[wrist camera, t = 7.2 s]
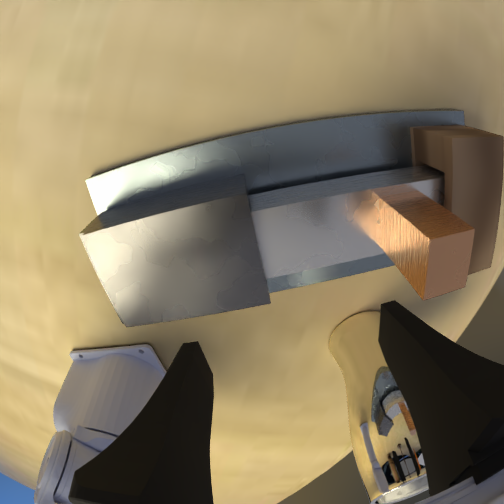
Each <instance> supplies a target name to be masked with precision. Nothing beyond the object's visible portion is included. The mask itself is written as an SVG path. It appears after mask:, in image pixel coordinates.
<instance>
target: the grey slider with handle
mask: <svg viewBox="0 0 504 504" xmlns="http://www.w3.org/2000/svg"><path fill="white" fill-rule="evenodd" d="M444 188H445V173H444V172H442V171H440V170H438V169H436V168H433V167H431V166H429V165H424V166H416V167H409V168H401V169H394V170H387V171H381V172H374V173H367V174H361V175H355V176H349V177H343V178H337V179H331V180H325V181H320V182H314V183H309V184H303V185H298V186H293V187H288V188H282V189H277V190H272V191H267V192H263V193H258V194H253V195H248V198H249V207H250V211H251V216H252V220H253V225H254V229H255V234H256V238H257V242H258V247H259V251H260V256H261V260H262V265H263V269H264V274H265V278H266V279H268V278H273V277H278V276H283V275H288V274H292V273H297V272H302V271H307V270H312V269H316V268H321V267H326V266H330V265H335V264H339V263H344V262H348V261H353V260H357V259H362V258H366V257H371V256H375V255H379V254H384V253H386V254H387V255H388V257H389V258H390V259H391V260H392V262H393V263H394V264H395V265H396V266H397V268H398V269H399V270H400V271H401V273H402V274H403V275H404V276H405V278H406V279H407V280H408V281H409V283H410V284H411V285H412V287H413V288H414V289H415V291H416V292H417V293H418V294H419V296H420V297H421V298H422V300H423V301H424V300H427V299H430V298H433V297H436V296H440V295H443V294H446V293H449V292H452V291H455V290H458V289H461V288H463V287H465V285H466V281H467V276H468V270H469V265H470V259H471V253H472V246H473V239H474V232H475V229H474V228H473V227H472V226H470V225H469V224H467V223H466V222H465V221H463V220H462V219H460V218H459V217H458V216H456V215H455V214H453V213H452V212H450V211H449V210H447V209H446V208H444Z"/></svg>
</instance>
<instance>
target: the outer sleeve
mask: <svg viewBox="0 0 504 504" xmlns="http://www.w3.org/2000/svg"><path fill="white" fill-rule="evenodd" d="M435 125H463V126H465V124H464V111H461V110H416V111H396V112H382V113H370V114H359V115H349V116H341V117H332V118H325V119H318V120H311V121H304V122H298V123H292V124H286V125H280V126H274V127H269V128H264V129H259V130H254V131H249V132H244V133H239V134H235V135H230V136H226V137H222V138H217V139H213V140H209V141H205V142H201V143H197V144H193V145H190V146H186V147H182V148H178V149H175V150H171V151H168V152H164V153H161V154H158V155H154V156H151V157H148V158H145V159H141V160H138V161H135V162H132V163H129V164H126V165H123V166H120V167H117V168H114V169H111V170H108V171H106V172H103V173H100V174H97V175H95V176H92V177H90V178H88V179H87V180H85V181H86V184H87V187H88V190H89V192H90V195H91V198H92V201H93V204H94V206H95V209H96V212H97V214H98V216H97V217H96V218H95V219H94V220H93V221H92V222H91V223H90V224H89V225H88V226H87V227H86V228H85V229H84V230H83V231H82V232H81V233H80V234H79V236H80V238H81V240H82V243H83V245H84V247H85V249H86V252H87V254H88V256H89V258H90V261H91V263H92V265H93V267H94V269H95V271H96V273H97V275H98V277H99V280H100V282H101V284H102V286H103V288H104V290H105V292H106V294H107V295H108V297H109V299H110V301H111V303H112V305H113V307H114V309H115V311H116V313H117V314H118V316H119V318H120V320H121V322H122V323H123V324H125V326H126V327H132V326H140V325H147V324H154V323H160V322H167V321H174V320H180V319H186V318H193V317H199V316H205V315H211V314H216V313H222V312H228V311H233V310H239V309H244V308H250V307H255V306H260V305H265V304H270V303H271V302H270V295H269V293H272V292H277V291H281V290H286V289H291V288H296V287H301V286H305V285H310V284H315V283H319V282H324V281H329V280H333V279H337V278H342V277H346V276H351V275H355V274H359V273H364V272H368V271H372V270H376V269H380V268H385V267H389V266H393V265H395V264H394V263H393V262H392V260H391V259H390V258H389V257H388V255H387V254H386V253H384V254H379V255H375V256H371V257H366V258H362V259H357V260H353V261H348V262H344V263H339V264H335V265H330V266H326V267H321V268H316V269H312V270H307V271H302V272H297V273H292V274H288V275H283V276H278V277H273V278H268V279H266V278H265V274H264V269H263V265H262V260H261V256H260V251H259V247H258V242H257V238H256V234H255V229H254V225H253V220H252V216H251V211H250V207H249V198H248V195H253V194H258V193H263V192H267V191H272V190H277V189H282V188H288V187H293V186H298V185H303V184H309V183H314V182H320V181H325V180H331V179H337V178H343V177H349V176H355V175H361V174H367V173H374V172H381V171H387V170H394V169H401V168H409V167H413V164H412V147H411V134H410V127H417V126H435Z"/></svg>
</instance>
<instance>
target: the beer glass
mask: <svg viewBox="0 0 504 504" xmlns="http://www.w3.org/2000/svg"><path fill="white" fill-rule="evenodd" d="M379 325H380V312H377V311H366V312H361V313H358V314H355V315H353V316H351V317H349V318H347V319H346V320H344V321H343V322H342V323H341V324H339V325H338V326H337V328H336V329H335V330H334V331H333V333H332V335H331V337H330V340H329V349H330V352H331V354H332V356H333V357H334V359H335V361H336V362H337V364H338V365H339V367H340V369H341V372H342V374H343V377H344V381H345V386H346V394H347V407H348V419H349V429H350V437H351V443H352V447H353V451H354V456H355V459H356V463H357V466H358V469H359V473H360V475H361V478H362V481H363V484H364V487H365V489H366V492H367V495H368V498H369V501H370V504H391V503H395V502H398V501H401V500H404V499H407V498H410V497H412V496H415V495H417V494H419V493H421V492H424V491H426V490H428V489H429V487H428V480H427V474H426V469H425V464H424V459H423V455H422V451H421V447H420V443H419V439H418V436H417V432H416V429H415V426H414V423H413V420H412V417H411V414H410V411H409V408H408V406H407V404H406V402H405V400H404V397H403V395H402V393H401V391H400V389H399V387H398V385H397V383H396V381H395V379H394V377H393V375H392V373H391V371H390V369H389V368H388V366H387V363H386V361H385V359H384V356H383V353H382V351H381V348H380V345H379V342H378V336H379Z"/></svg>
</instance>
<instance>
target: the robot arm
mask: <svg viewBox="0 0 504 504" xmlns="http://www.w3.org/2000/svg"><path fill="white" fill-rule="evenodd" d="M378 342H379V345H380V348H381V351H382V353H383V356H384V359H385V361H386V363H387V366H388V368H389V369H390V371H391V373H392V375H393V377H394V379H395V381H396V383H397V385H398V387H399V389H400V391H401V393H402V395H403V397H404V400H405V402H406V404H407V406H408V408H409V411H410V414H411V417H412V420H413V423H414V426H415V429H416V432H417V436H418V439H419V443H420V447H421V451H422V455H423V459H424V464H425V469H426V474H427V480H428V487H429V494H430V497H429V498H427V499H425V500H423V501H420V502H417V503H415V504H504V365H501V364H499V363H496V362H493V361H491V360H488V359H486V358H484V357H481V356H479V355H477V354H475V353H473V352H471V351H469V350H467V349H465V348H463V347H462V346H460V345H458V344H456V343H455V342H453V341H451V340H450V339H448V338H447V337H445V336H443V335H442V334H440V333H439V332H437V331H436V330H434V329H433V328H432V327H430V326H429V325H427V324H426V323H425V322H423V321H422V320H420V319H419V318H418V317H416V316H415V315H414V314H412V313H411V312H410V311H408V310H407V309H406V308H404V307H403V306H402V305H400V304H399V303H398V302H396V301H395V300H394V301H391V302H387V303H383V304H381V312H380V325H379V336H378ZM70 357H71V358H72V360H73V363H72V365H71V367H70V370H69V372H68V374H67V376H66V378H65V380H64V383H63V385H62V387H61V390H60V392H59V394H58V396H57V399H56V401H55V404H54V411H53V417H54V424H55V428H56V430H57V432H56V433H55V434H54V435H53V437H52V439H51V441H50V443H49V445H48V448H47V450H46V453H45V455H44V458H43V461H42V464H41V468H40V471H39V475H38V480H37V486H36V490H35V494H34V502H35V504H213V495H212V485H211V472H210V436H211V424H212V413H213V400H214V389H213V374H212V372H211V369H210V367H209V365H208V363H207V361H206V358H205V356H204V354H203V352H202V350H201V347H200V345H199V343H198V341H197V342H190V343H183V344H182V346H181V348H180V349H179V351H178V353H177V355H176V357H175V358H174V360H173V362H172V364H171V365H170V367H169V369H168V371H167V372H166V370H165V369H164V367H163V365H162V364H161V362H160V360H159V359H158V357H157V355H156V353H155V352H154V350H153V348H152V347H151V346H150V345H148V344H143V345H134V346H124V347H114V348H103V349H90V350H77V351H71V352H70Z"/></svg>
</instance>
